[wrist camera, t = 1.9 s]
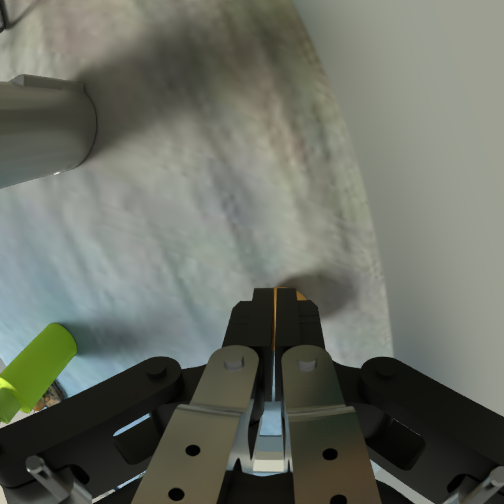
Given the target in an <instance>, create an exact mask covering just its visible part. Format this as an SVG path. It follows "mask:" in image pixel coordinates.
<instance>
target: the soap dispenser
mask: <svg viewBox="0 0 504 504" xmlns="http://www.w3.org/2000/svg"><path fill="white" fill-rule="evenodd" d="M76 353H77V345H76V342H75V340H74V338H73V337H72V335H71V334H70V333H69V332H68V331H67V330H66V329H65V328H64V327H63V326H61V325H59V324H56V323H51V324H49V325H48V326H47V327H46V328H45V329H44V330H43V331H42V332H41V333H40V334H39V335H38V336H37V337H36V338H35V339H34V340H33V341H32V342H31V343H30V344H29V345H28V346H27V347H26V348H25V349H24V350H23V351H22V352H21V353H20V354H19V355H18V356H17V357H16V358H15V359H14V360H13V361H12V362H11V363H10V364H9V365H8V366H7V367H6V368H5V369H4V371H3V372H2V373H1V374H0V422H3V423H6V424H8V423H9V422H10V421H11V420H12V418H13V417H14V416H15V414H16V413H17V412H18V411H19V410H20V411H22V412H24V413H30V412H31V410H32V409H33V408H34V406H35V405H36V404H37V402H38V401H39V400H40V398H41V397H42V396H43V394H44V393H45V392H46V391H47V389H48V388H49V387H50V385H51V384H52V383H53V382H54V380H55V379H56V378H57V377H58V375H59V374H60V373H61V372H62V370H63V369H64V368H65V367H66V365H67V364H68V363H69V362H70V360H71V359H72V358H73V357H74V356H75V354H76Z"/></svg>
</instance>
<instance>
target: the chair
mask: <svg viewBox="0 0 504 504" xmlns="http://www.w3.org/2000/svg"><path fill="white" fill-rule="evenodd" d="M4 28H5V22H4V18H3V14H2V10H1V5H0V33H1V32H2V31H3V30H4Z"/></svg>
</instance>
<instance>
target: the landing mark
mask: <svg viewBox="0 0 504 504" xmlns="http://www.w3.org/2000/svg"><path fill="white" fill-rule="evenodd" d="M257 451H273V452H283V447H282V436H259V441H258V446H257ZM253 473H284V472H275V471H253Z"/></svg>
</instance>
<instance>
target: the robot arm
mask: <svg viewBox="0 0 504 504" xmlns="http://www.w3.org/2000/svg"><path fill="white" fill-rule="evenodd" d="M95 134H96V114H95V110H94V106H93V104H92V102H91V100H90V99H89V98H88V97H87V95H86V94H85V92H84V84H83V83H78V82H72V81H67V80H61V79H55V78H48V77H41V76H34V75H26V74H22V75H19V76H17V77H15V78H14V79H12V80H10V81H9V82H0V189H1V188H5V187H8V186H11V185H15V184H18V183H22V182H26V181H29V180H33V179H37V178H41V177H45V176H48V175H53V174H58V173H62V172H65V171H68V170H71V169H74V168H75V167H77V166H78V165H80V163H81V162H82V161H83V160H84V159H85V158H86V156H87V155H88V153H89V152H90V149H91V147H92V145H93V142H94V138H95ZM274 346H275V401H281V431H282V447H283V464H284V473H280V474H275V475H270V476H256V475H253V466H254V461H255V456H256V451H257V446H258V441H259V435H260V430H261V425H262V415H263V412H264V402H265V401H272V386H273V367H274ZM148 413H149V416H150V417H149V418H147V419H146V420H144V421H142V422H140V423H139V424H137V425H135V426H133V427H132V428H130V429H128V430H126V431H124V432H123V433H121V434H119V435H117V436H113V435H114V433H115V432H116V431H118V430H119V429H121V428H123V427H125V426H126V425H128V424H130V423H132V422H134V421H135V420H137V419H139V418H141V417H143V416H144V415H146V414H148ZM396 420H397V421H396ZM399 422H400V423H399ZM402 424H403V425H402ZM404 425H405V426H406V427H405V426H404ZM407 427H408V428H407ZM410 429H411V430H410ZM413 431H414V432H413ZM416 433H417V434H416ZM418 434H419V435H418ZM370 459H371V460H372V461H373V462H375V463H376V464H378V465H379V466H380V467H382V468H383V469H385V470H386V471H387V472H389V473H390V474H391V475H393V476H394V477H396V478H397V479H399V480H400V481H401V482H403V483H404V484H406V485H407V486H409V487H410V488H412V489H413V490H415V491H416V492H418V493H419V494H421V495H422V496H424V497H425V498H427V499H428V500H430V501H431V502H433V503H435V504H504V417H503V416H501V415H499V414H497V413H495V412H493V411H491V410H489V409H487V408H485V407H484V406H482V405H480V404H478V403H476V402H474V401H472V400H470V399H469V398H467V397H465V396H463V395H461V394H459V393H457V392H455V391H454V390H452V389H450V388H448V387H446V386H444V385H443V384H440V383H439V382H437V381H435V380H433V379H431V378H430V377H428V376H426V375H424V374H422V373H421V372H419V371H417V370H415V369H413V368H412V367H410V366H408V365H406V364H404V363H402V362H401V361H399V360H397V359H394V358H390V357H375V358H372V359H369V360H368V361H366V362H365V363H364V364H363V365H362V367H361V369H360V368H354V367H348V366H344V365H341V364H338V363H336V362H335V361H333V360H332V358H331V356H330V354H329V353H328V352H327V351H326V349H325V344H324V338H323V333H322V328H321V322H320V317H319V312H318V307H317V306H316V305H315V304H314V303H313V302H312V301H311V300H297V291H296V287H291V288H277V297H276V324H275V307H274V288H254V293H253V298H252V301H240V302H239V303H238V304H237V305H236V306H235V307H233V309H232V312H231V316H230V320H229V323H228V327H227V330H226V334H225V337H224V341H223V344H222V348H220V349H218V350H217V351H215V352H214V353H213V354H212V355H211V357H210V358H209V361H208V363H207V364H205V365H202V366H199V367H193V368H187V369H181V367H180V364H179V363H178V362H177V361H176V360H174V359H172V358H169V357H162V356H159V357H153V358H149V359H147V360H144V361H143V362H141V363H139V364H137V365H135V366H133V367H131V368H129V369H127V370H125V371H123V372H121V373H119V374H117V375H115V376H113V377H111V378H109V379H107V380H105V381H103V382H101V383H99V384H97V385H95V386H93V387H91V388H89V389H87V390H84V391H82V392H80V393H78V394H76V395H74V396H72V397H70V398H68V399H65V400H63V401H61V402H59V403H57V404H55V405H53V406H50V407H48V408H46V409H44V410H42V411H39V412H37V413H35V414H33V415H30V416H28V417H26V418H24V419H21V420H19V421H17V422H14V423H12V424H10V425H7V426H5V427H3V428H0V485H1V486H2V488H3V491H4V494H5V497H6V500H7V503H8V504H92V499H94V498H96V497H98V496H100V495H102V494H104V493H106V492H108V491H110V490H112V489H113V488H115V487H117V486H119V485H121V484H123V483H125V482H126V481H128V480H130V479H132V478H133V477H135V476H137V475H139V474H140V473H142V472H144V471H146V472H145V474H144V476H142V477H140V478H138V479H135V480H134V481H132V482H130V483H128V484H127V485H125V486H123V487H122V488H120V489H118V490H116V491H115V492H113V493H111V494H109V495H108V496H106V497H104V498H102V499H100V500H99V501H97V502H95V503H93V504H414V503H413V502H412V501H410V500H409V499H408V498H406V497H405V496H403V495H402V494H401V493H399V492H398V491H397V490H395V489H394V488H392V487H391V486H389V485H387V484H385V483H383V482H381V481H378V480H376V479H375V476H374V472H373V469H372V465H371V461H370Z"/></svg>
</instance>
